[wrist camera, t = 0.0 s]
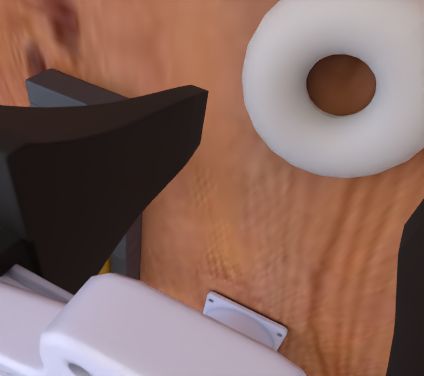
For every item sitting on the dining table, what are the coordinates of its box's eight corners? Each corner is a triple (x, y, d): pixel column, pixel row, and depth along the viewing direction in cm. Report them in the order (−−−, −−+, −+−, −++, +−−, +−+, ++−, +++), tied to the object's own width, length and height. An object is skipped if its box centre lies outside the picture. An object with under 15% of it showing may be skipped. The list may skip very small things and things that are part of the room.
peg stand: (139, 280, 40) (126, 298, 39) (76, 248, 42) (60, 264, 40) (146, 105, 26) (125, 120, 24) (50, 67, 28) (24, 79, 26)
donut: (232, 108, 24) (377, 187, 22) (208, 132, 21) (369, 223, 20) (303, -74, 17) (519, 24, 15) (280, -70, 14) (535, 47, 13)
